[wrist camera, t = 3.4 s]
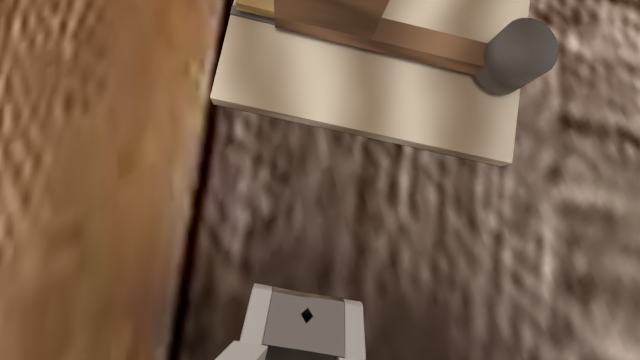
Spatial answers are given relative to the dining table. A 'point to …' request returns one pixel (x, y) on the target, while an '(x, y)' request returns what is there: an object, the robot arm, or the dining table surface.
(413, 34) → the tuning lever
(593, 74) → the dining table surface
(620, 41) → the dining table surface
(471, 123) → the dial board
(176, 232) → the dining table surface
